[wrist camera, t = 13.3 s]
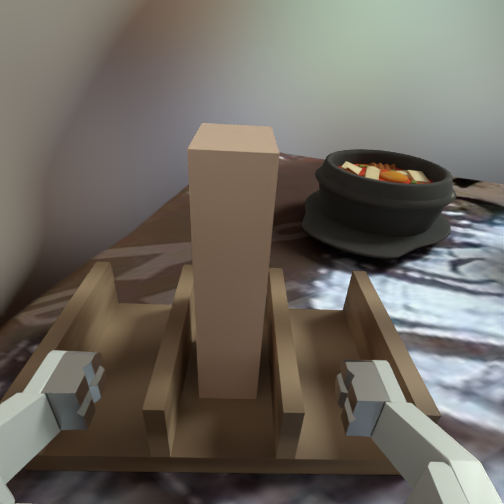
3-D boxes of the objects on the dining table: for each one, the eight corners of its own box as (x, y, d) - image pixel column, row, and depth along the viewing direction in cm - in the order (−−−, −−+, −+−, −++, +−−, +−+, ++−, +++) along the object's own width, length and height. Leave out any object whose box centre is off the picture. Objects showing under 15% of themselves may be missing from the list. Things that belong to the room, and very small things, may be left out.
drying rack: (411, 475, 19) (446, 415, 16) (26, 470, 18) (-10, 406, 15) (353, 324, 29) (368, 271, 26) (105, 316, 28) (93, 261, 25)
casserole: (423, 297, 33) (454, 219, 29) (264, 237, 42) (269, 170, 37) (458, 214, 51) (480, 159, 47) (341, 184, 60) (351, 135, 55)
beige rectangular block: (256, 399, 21) (279, 153, 13) (198, 398, 21) (187, 149, 13) (254, 338, 25) (271, 126, 17) (207, 337, 25) (202, 123, 17)
